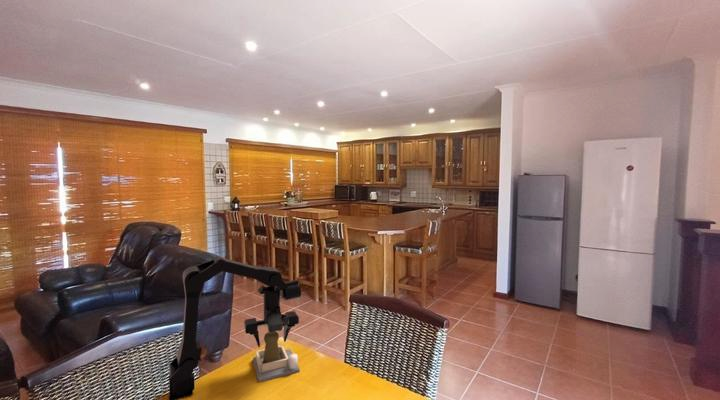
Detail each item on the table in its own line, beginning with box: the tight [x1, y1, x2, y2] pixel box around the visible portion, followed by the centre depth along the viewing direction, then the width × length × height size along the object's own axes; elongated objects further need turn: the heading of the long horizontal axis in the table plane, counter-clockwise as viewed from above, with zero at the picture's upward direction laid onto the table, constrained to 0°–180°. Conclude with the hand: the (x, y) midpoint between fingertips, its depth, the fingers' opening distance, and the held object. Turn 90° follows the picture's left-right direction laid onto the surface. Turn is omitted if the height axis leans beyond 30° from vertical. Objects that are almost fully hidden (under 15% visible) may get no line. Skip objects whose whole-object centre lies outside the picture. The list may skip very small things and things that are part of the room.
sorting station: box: [252, 345, 301, 383], centre depth 117 cm, size 14×14×5 cm
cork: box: [263, 331, 280, 364], centre depth 117 cm, size 6×6×11 cm
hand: (272, 344), depth 117 cm, fingers open, 9 cm apart
